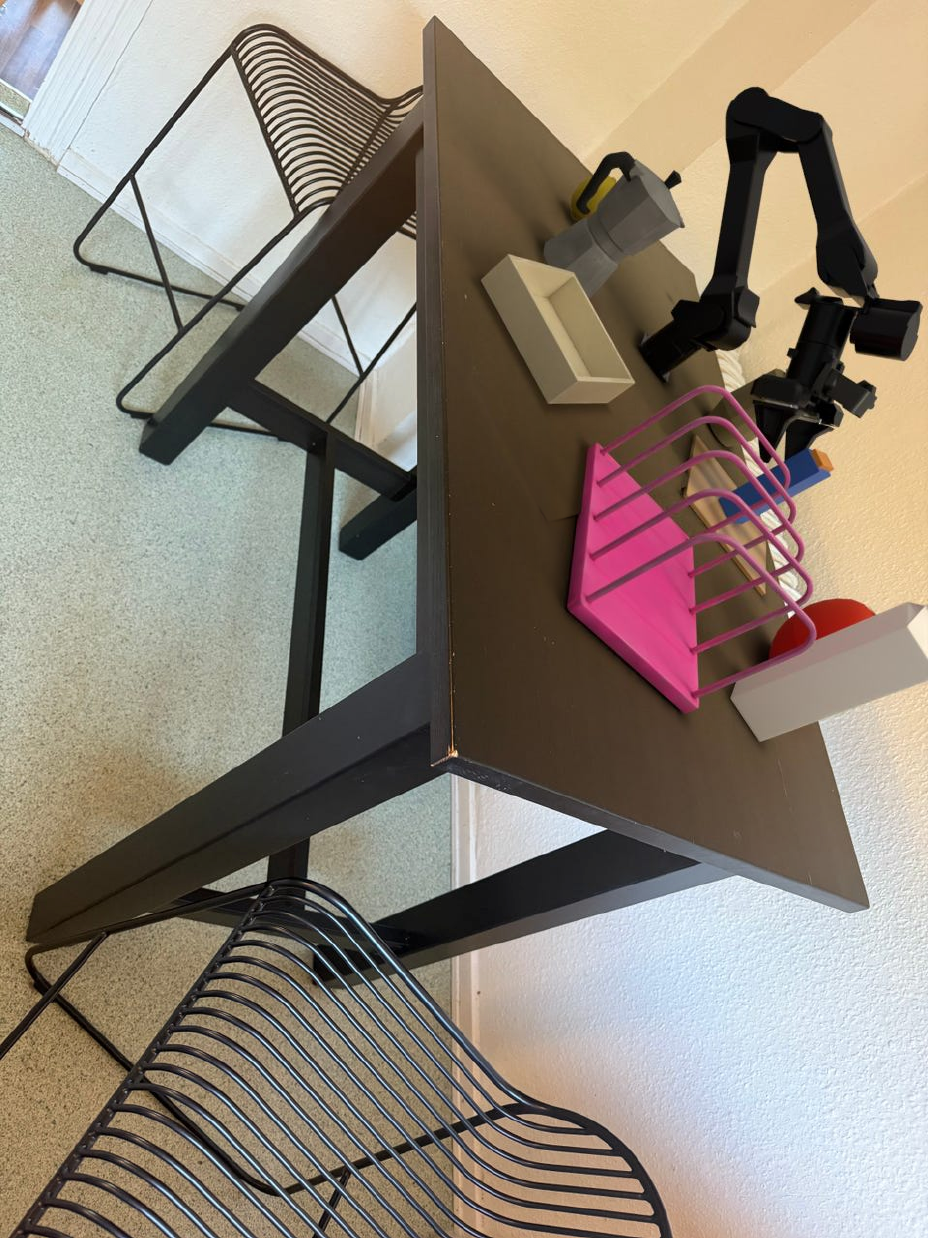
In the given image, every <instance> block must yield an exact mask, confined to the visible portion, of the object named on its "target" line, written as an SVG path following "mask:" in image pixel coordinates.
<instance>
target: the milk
mask: <svg viewBox="0 0 928 1238" xmlns="http://www.w3.org/2000/svg"><path fill="white" fill-rule="evenodd" d="M926 682H928V604H926V605H925V604H919V603H915V602H911V601H906V602H903V603H901V604H899V605H896V606H894V607H891V608H889V609H887V610H885V611H883V612H880V613H876V615H875V616H872V617H870V618H868V619H865V620H863V621H861V622H858V623H856V624H854V625H851V626H849V627H847V628H844V629H842V630H839V631H837V632H835V633H832V634H830V635H828V636H825V637H823V638H821V639H818V640H816V641H815V642H814V643H813V645H812V646H811V647H810V648H809V649H808V650H806V651H805V652H803V653H802V654H800V655H797V656H795V657H793V658H791V659H788V660H786V661H784V662H782V663H780V664H777V665H775V666H772V667H770V668H768V669H765V670H763V671H761V672H758V673H756V674H753V675H751V676H749V677H746V678H744V679H741V680H739V681H737V682H735V684H734V686H733V689H732V693H731V695H730V697H729V699H730V701H731V702H732V704H733V705H734V707H735V709H737V711H738V713H739V714H740V715H741V718H742V719H743V720H744V721H745V723H746V724H747V726H748V727H749V729H750V730H751V732H752V734H753V735H754V736H755V738H756V739H757V741H758V742H759V743H761V742H763V741H767V740H769V739H772V738H775V737H778V736H781V735H783V734H786V733H789V732H791V731H794V730H797V729H801V728H803V727H805V726H808V725H811V724H813V723H816V722H819V721H821V720H825V719H828V718H830V717H833V716H835V715H838V714H841V713H844V712H847V711H849V710H852V709H854V708H858V707H861V706H863V705H866V704H870V703H872V702H875V701H876V700H879V699H883V698H886V697H888V696H891V695H893V694H897V693H900V692H902V691H904V690H907V689H910V688H913V687H916V686H918V685H921V684H924V683H926Z"/></svg>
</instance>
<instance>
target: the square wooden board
mask: <svg viewBox="0 0 928 1238" xmlns="http://www.w3.org/2000/svg"><path fill="white" fill-rule="evenodd" d="M690 449H691V450H690V453H689V459H688V461H689V460H690V459H692V458H694V457H696V456H698V455H699V454H702V453H704V452H707V451H710V450H709V449H708V447H707V446H706V444H705V443H704V442H703V440H702V439H701V437H699V435H697V434H696V435H693V437H692V443H691V448H690ZM686 476H687V478H688V480H687V481H688V483H687V485H685V486H684V487H683V492H682V497H683V500H684V499H685V498H687V497H689V496H691V495H693V494H695V493H697V492H699V491H702V490H706V489H715V488H718V489H724V490H727V491H730V492H731V491H733V490H735V489H737V488H738V487H737V485H736V484H735V482H734V481H733V480H732V479H731V477H730V475H728V474H727V472H726V471H725V470H724V468H723V467H722V466H721V463H719V461H717V459H716V457H714V458H708V459H705V460H704V461H702V462H700V463H698V464H696V465H694V466H692V467H691V468H689V469H687V470H686ZM719 498H721V497H719V496H710V497H705V498H702V499H700V500H697V501H696V502H694V503H692V504H689V505H688V506H689V507H690V508H691V509H692V510H693V511H694V513H695V514H696V515H697V517H698V518H699V519H700V520H701V521H702V523H703V524H704V526H705V527H706V529H708V528H710V527H712V526H714V525H716V524H718V523H720V522H721V521H723V520H725V519H727V517H726V515H725V513H724V511H723V509H722V506H721V504H720V502H719V500H718V499H719ZM757 517H758V518H759V519H760V520H761V521H762V522H763V523H764V524H765V525H766V523H765V522H764V521H763V518H761V517H760V515H758V516H757ZM766 527H767V528H768V526H767V525H766ZM713 533H720V534H724V535H728V536H730V537H732V538H734V539H736V540H737V541H738V542H740V543H741V544H742V545H745V544H747V543H749V542H750V541H752V540H754V539H756V538H758V537H760V536H762V535H763V533H762V532H761V531H760V530H759V529H758V528H757V527H756V526H755V525H754V524H753V523H752V521H751V520H749V521H747V522H745V523H744V524H740V523H734V522H732V523H730V524H728V525H726V526H724V527H722V528H721V529H719V530H717V531H715V532H713ZM718 543H719V544H720V546H721V547H722V548H723V549H724V551H725V552H726V554H727V553H729V552H731V551H733V550H735V549H734V548H733V547H731V546H730V545H728V544H726V543H723V542H718ZM747 551H748V552H749V553H750V554H751V555H752V556H753V557H754V558H755V559H756V560H757V561H758V562H759V563H760V564H761V565H762V566H763V567H764V569H765V570H766V571H767V540H766V541H764V542H762V543H760V544H758V545H756V546H754V547H752V548H750V549H748V550H747ZM731 560H732V561H733V562H734V563H735V565H737V567H738V568H739V570H740V571H741V572H742V573H743V575H744V576H745V577H746V578H747V579H748V582H751V581H753V580H755V579H757V578H759V577H761V576H760V575H759V574H758V573H757V572H756V571H755V570H754V569H753V568H752V566H751V565H750V564H749V563H748V562H747V561H746V560H745V559H744V558H743V557H742V556H741V555H740V554H738V555H736V556H734V557H732V558H731ZM766 584H767V582H764V583H762V584H760V585H758V586H756V587H754V588H755V590H756V591H757V592H758V594H759V595H760V596H761V597H762V596H764V595H766V588H767V587H766Z"/></svg>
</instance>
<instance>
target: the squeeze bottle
mask: <svg viewBox="0 0 928 1238" xmlns="http://www.w3.org/2000/svg"><path fill="white" fill-rule="evenodd" d="M787 369H788V367H787V368H786V369H785V370H782V369H780V368H776V367H775V368H774V369H772V370H770V371H768V372H766V373H765V374H768V375H773V376H779V377H784V378H785V375H786V372H787ZM754 380H755V379H753V380H751V381H749V382H747V383H746V384H743V385H741V386H740V387H738V388H736V389H734V390H732V391H729V392H730V393H731V395H732V396H733V397H734V398H735V399H736V401H737V402H738V403H739V405H740V406H741V407H742V408H743V410H744V411H745V412H746V413H747V415H748V416H749V417H750V419H751V420H752V421H753V422H754V424H755V425H756V426H757V424H756V417H755V409H754V404H752V401H753V400H758V401H764V399H765V398H764V397H763V398H762V399H758V398H755V397H753V396H751V395H750V392H751V389H752V386H753V383H754ZM707 416H717V417H721V418H724V419H726V420H728V421H729V422H731V423H732V424H733V425H734V426H735V428H736V429H737V430H738V431H739V432H740V434H741V435H742V436H743V437H744V439H745V440H746V441H747V442H748V443H749V442H752V441H754V440H755V439H757V436H756V435H755V434H754V433H753V431H752V430H751V429H750V427H749V426H748V425H747V424H746V422H745V421H744V420H743V418H742V417H741V416H740V415H739V413H738V412H737V411H736V410H735V408H734V407H733V406H732V405H731V403H730V402H729V401H728V400H727V399H726V398H725V397H724V396H723V397H722V398H721V399H720V401H718V403H717V404H716V405H715V406H714V408H713V409H712V410H711V411H710V412H709V413H708V415H707ZM708 424H709V426H710V429H711V431H712V432H713V434H714V436H715V437H716V438H717V440H718V441H719V442H720V443H721V444H722V445H723V446H725V447H726V448H729V447H733V446H737V445H741V444H740V443H739V442H738V440H737V439H736V438H735V437H734V436H733V434H732V433H731V432H730V431H729V430H728V429H727V428H726V427H724V426H723V425H720V424H717V423H708Z"/></svg>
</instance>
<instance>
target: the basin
mask: <svg viewBox="0 0 928 1238" xmlns="http://www.w3.org/2000/svg"><path fill="white" fill-rule="evenodd" d="M480 281H481V283H482V285H483V287H484V290H485V291H486V293H487V294H488V296H489V298H490V300H491V302H492V303H493V306H494V307H495V309H496V311H497V312H498V314H499V317H500V318H501V320H502V322H503V324H504V325H505V327H506V329H507V331H508V333H509V335H510V336H511V338H512V340H513V342H514V344H515V345H516V346H515V347H517V350H518V351H519V353H520V354H521V357H522V358H523V360H524V363H525V364H526V366H527V367H528V369H529V371H530V374H531V375H532V377H533V379H534V380H535V382H536V384H537V387H538V388H539V390H540V392H541V394H542V395H543V397H544V399H545V401H546V403H547V404H550V405H551V404H556V405H557V404H609V403H610V402H611V401H613V400H614V399H616V398H617V397H619V396H620V395H621V394H623V393H624V392H625V391H627V390H628V389H629V388H631V387H632V386H633V385H635V384H636V381H635V380H634V377H633V376H632V374H631V372H630V370H629V369H628V367H627V365H626V364H625V361H624V360H623V358H622V356H621V354H620V353H619V351H618V349H617V347H616V345H615V344H614V342H613V340H612V338H611V336H610V334H609V333H608V331H607V330H606V328H605V326H604V324H603V322H602V321H601V319H600V317H599V315H598V313H597V311H596V309H595V308H594V306H593V304H592V303H591V301H590V299H588V297H587V295H586V293H585V292H584V290H583V288H582V286H581V284H580V283H579V281H578V279H577V277H576V275H575V274H574V272H571V271H567V270H564V269H560V268H556V267H553V266H549V265H548V264H546V263H542V262H539V261H535V260H530V259H528V258H524V257H520V256H517V255H514V254H510V253H508V254H507V255H506V256H504V258H502V260H500V261H499V262H498V263H497V264H496V265H495V266H494V267H492V268H491V269H490V271H488V272H487V273H486V274H485V275H484V276H483V277H482V278H481V279H480Z"/></svg>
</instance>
